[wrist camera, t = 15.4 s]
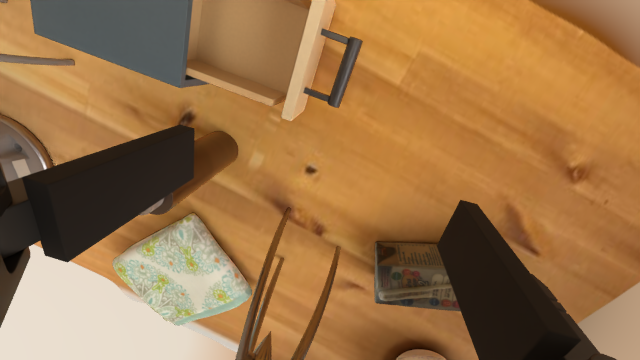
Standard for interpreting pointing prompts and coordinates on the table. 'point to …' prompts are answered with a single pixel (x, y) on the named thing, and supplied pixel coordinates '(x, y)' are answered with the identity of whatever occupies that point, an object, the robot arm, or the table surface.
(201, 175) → the pepper mill
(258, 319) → the tripod lemon squeezer
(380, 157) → the table surface
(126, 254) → the towel
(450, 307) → the beverage carton
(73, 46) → the cabinet
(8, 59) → the citrus juicer
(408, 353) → the paper bowls
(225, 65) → the drawer
